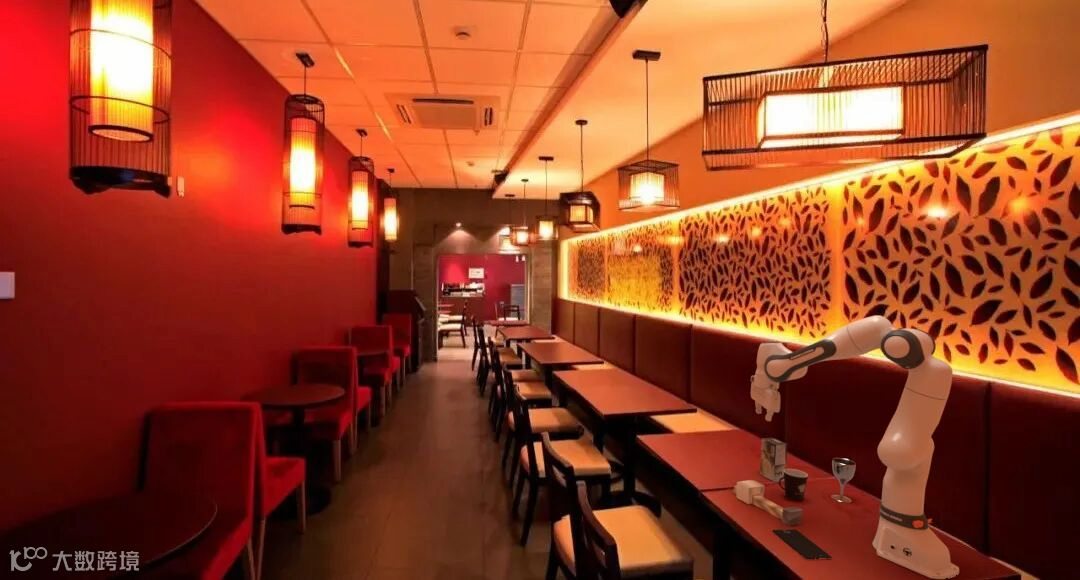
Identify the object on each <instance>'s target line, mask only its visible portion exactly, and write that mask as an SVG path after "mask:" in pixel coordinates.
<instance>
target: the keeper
mask: <svg viewBox="0 0 1080 580" xmlns="http://www.w3.org/2000/svg"><path fill="white" fill-rule="evenodd" d="M736 485H737V489H736V490H737V495H735V496H736V499H738V500H740V501H742V502H744V503H745V504H747V505H750V504H751V505H753V504H752V495H757V494H758V495H760V496H762V497H763V498H764V494H765V485H764V484H762V483H760V482H758V481H756V480H753V479H748V480H747V479H746V480H742V481H737V482H736Z"/></svg>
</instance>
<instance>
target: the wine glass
mask: <svg viewBox="0 0 1080 580" xmlns="http://www.w3.org/2000/svg"><path fill="white" fill-rule="evenodd" d="M831 464H832V466H831V467H832V473H833V475H834V476H835V478H836V479H837V480H838V482H839V484H840V494H831V496H830V497H831V498H832V499H833V500H835V501H837V502H840V503H841V502H842V503H846V504H848V503H852V499H851V498H849V497H847V496H845V495H844V488H845V485H846V484H847V483H848V482H849V481H850V480H852V479H853V477H854V475H855V472H856V462H855V461H853V460H850V459H848V458H842V457H833V458H832V462H831Z"/></svg>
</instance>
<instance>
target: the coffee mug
mask: <svg viewBox="0 0 1080 580" xmlns="http://www.w3.org/2000/svg"><path fill="white" fill-rule="evenodd" d="M808 477H809V475H808V473H807V472H805V471H802V470H799V469H796V468H795V469H794V468H786V469H785V470H784V477H782V478H781V479H780V480H779V482H778V486H779V487H780V488H781V489H782V490H784V496H785V498H786V499H787V500H789V501H793V502H799V503H801V502H803V501H804V497H805V492H806V487H807V482H808ZM782 479H784V481H783V482H784V486H783V485H782V484H781V482H782V481H781V480H782Z"/></svg>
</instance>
